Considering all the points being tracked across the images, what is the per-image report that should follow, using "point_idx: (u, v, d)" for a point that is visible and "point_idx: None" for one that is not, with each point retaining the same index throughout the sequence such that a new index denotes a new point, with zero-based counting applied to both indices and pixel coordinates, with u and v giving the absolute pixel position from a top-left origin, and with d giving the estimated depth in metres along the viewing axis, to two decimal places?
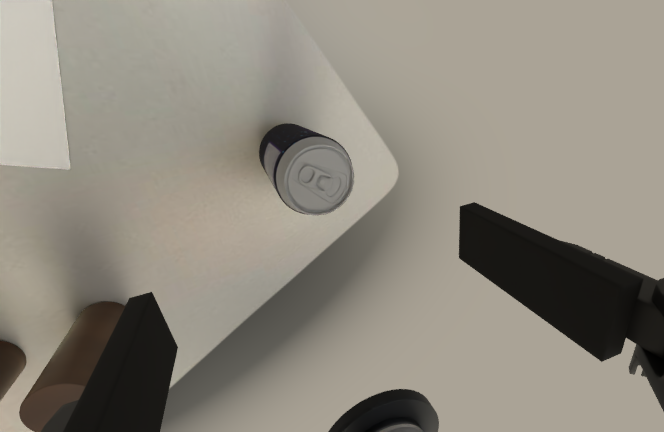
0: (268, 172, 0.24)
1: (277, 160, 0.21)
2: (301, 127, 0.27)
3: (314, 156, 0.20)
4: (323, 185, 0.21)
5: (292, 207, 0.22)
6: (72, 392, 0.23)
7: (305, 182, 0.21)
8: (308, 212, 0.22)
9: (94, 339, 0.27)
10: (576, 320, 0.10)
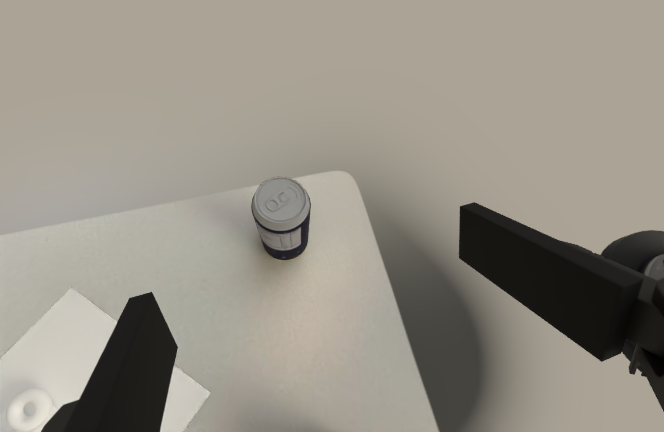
0: (272, 242, 0.32)
1: (257, 222, 0.30)
2: None
3: (263, 195, 0.29)
4: (285, 199, 0.30)
5: (291, 227, 0.29)
6: None
7: (275, 208, 0.29)
8: (297, 216, 0.29)
9: None
10: (576, 320, 0.10)
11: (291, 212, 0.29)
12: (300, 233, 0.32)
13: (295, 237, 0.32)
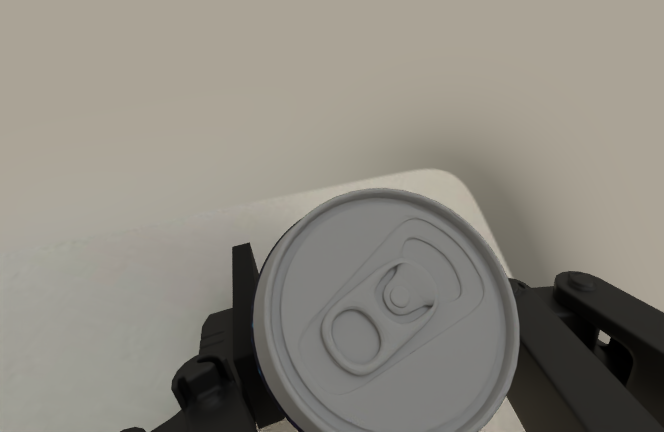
0: None
1: None
2: None
3: (308, 282, 0.06)
4: (415, 299, 0.06)
5: None
6: None
7: (376, 355, 0.06)
8: (493, 400, 0.06)
9: None
10: None
11: (455, 376, 0.06)
12: None
13: None
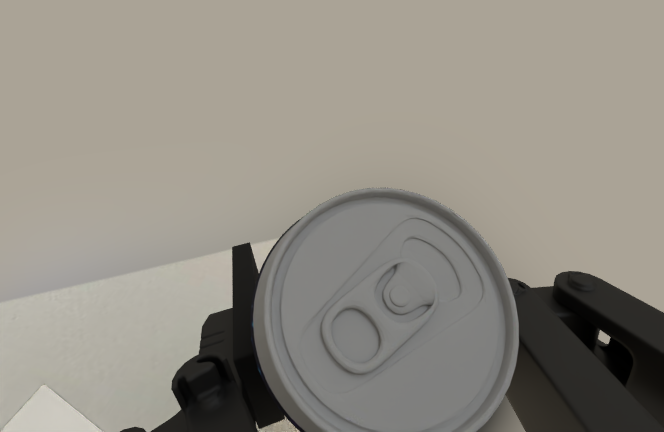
0: None
1: None
2: None
3: (308, 281, 0.06)
4: (415, 298, 0.06)
5: None
6: None
7: (376, 354, 0.06)
8: (492, 398, 0.06)
9: None
10: None
11: (455, 375, 0.06)
12: None
13: None
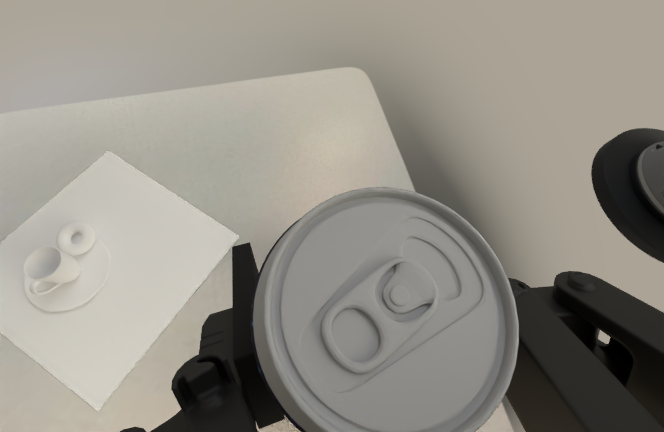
0: None
1: None
2: None
3: (308, 281, 0.06)
4: (415, 298, 0.06)
5: None
6: None
7: (376, 353, 0.06)
8: (492, 398, 0.06)
9: None
10: None
11: (455, 375, 0.06)
12: None
13: None
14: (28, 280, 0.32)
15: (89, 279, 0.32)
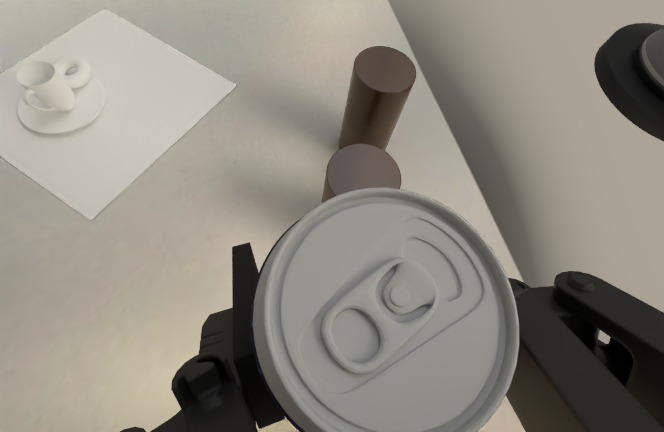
0: None
1: None
2: None
3: (308, 282, 0.06)
4: (414, 298, 0.06)
5: None
6: (372, 54, 0.25)
7: (376, 354, 0.06)
8: (492, 399, 0.06)
9: None
10: None
11: (455, 375, 0.06)
12: None
13: None
14: (21, 107, 0.31)
15: (84, 110, 0.32)
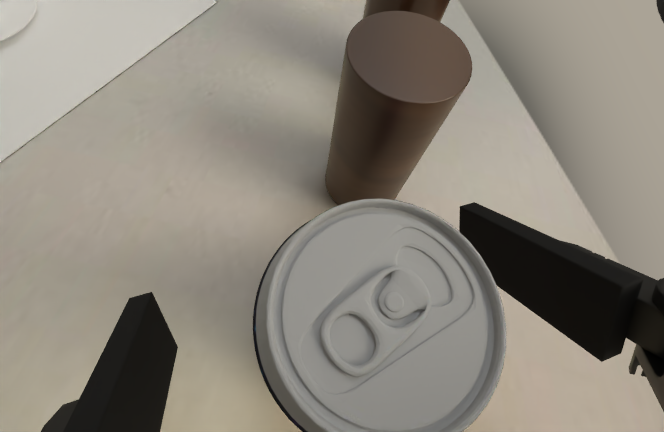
0: None
1: None
2: None
3: (308, 288, 0.06)
4: (408, 304, 0.07)
5: None
6: None
7: (372, 357, 0.06)
8: (480, 398, 0.06)
9: None
10: (576, 319, 0.10)
11: (446, 377, 0.06)
12: None
13: None
14: None
15: (4, 23, 0.23)
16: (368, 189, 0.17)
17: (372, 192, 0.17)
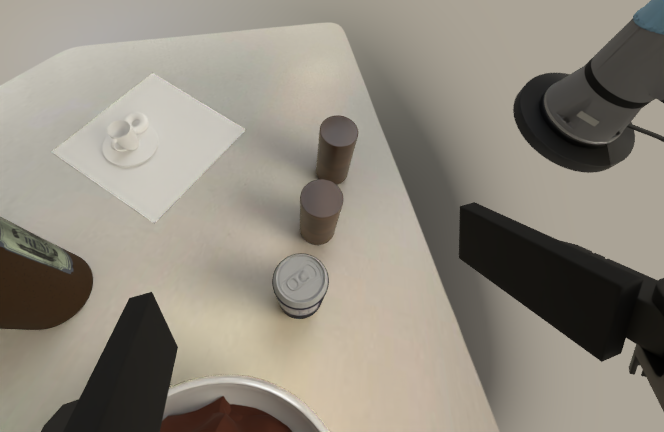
0: (291, 311, 0.34)
1: (278, 298, 0.31)
2: None
3: (284, 274, 0.31)
4: (305, 277, 0.31)
5: (311, 304, 0.31)
6: (331, 121, 0.41)
7: (296, 287, 0.30)
8: (317, 295, 0.30)
9: None
10: (576, 319, 0.10)
11: (311, 291, 0.30)
12: (318, 304, 0.33)
13: (313, 308, 0.33)
14: (104, 148, 0.47)
15: (144, 149, 0.48)
16: (315, 236, 0.42)
17: (317, 237, 0.42)
